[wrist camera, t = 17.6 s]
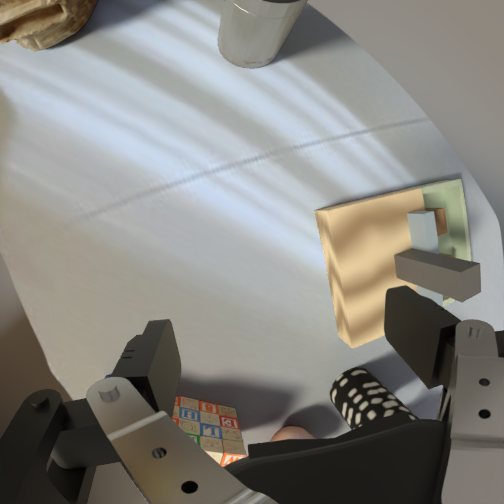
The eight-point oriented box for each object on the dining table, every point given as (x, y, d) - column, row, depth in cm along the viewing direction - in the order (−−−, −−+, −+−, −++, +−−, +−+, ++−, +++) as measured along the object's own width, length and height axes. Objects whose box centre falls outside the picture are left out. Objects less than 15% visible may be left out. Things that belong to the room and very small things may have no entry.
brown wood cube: (427, 213, 44) (444, 207, 44) (412, 212, 48) (429, 207, 48) (430, 238, 44) (447, 232, 45) (416, 236, 48) (432, 230, 49)
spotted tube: (380, 382, 51) (444, 443, 32) (347, 414, 51) (400, 485, 32) (356, 358, 50) (424, 422, 30) (320, 393, 50) (373, 469, 30)
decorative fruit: (251, 434, 49) (261, 473, 39) (288, 406, 49) (305, 442, 39) (284, 457, 51) (298, 493, 41) (319, 432, 51) (338, 466, 41)
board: (314, 210, 45) (327, 210, 40) (402, 189, 47) (421, 188, 42) (338, 336, 49) (352, 348, 44) (418, 304, 50) (435, 312, 46)
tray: (402, 189, 47) (419, 188, 43) (444, 180, 48) (461, 178, 44) (418, 304, 50) (434, 311, 46) (456, 286, 52) (472, 291, 47)
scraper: (387, 218, 42) (456, 224, 28) (416, 210, 43) (485, 213, 29) (400, 310, 44) (461, 342, 31) (427, 299, 45) (489, 325, 31)
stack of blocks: (101, 404, 44) (82, 450, 32) (105, 374, 44) (83, 418, 32) (226, 434, 48) (234, 485, 36) (236, 407, 48) (247, 456, 36)
